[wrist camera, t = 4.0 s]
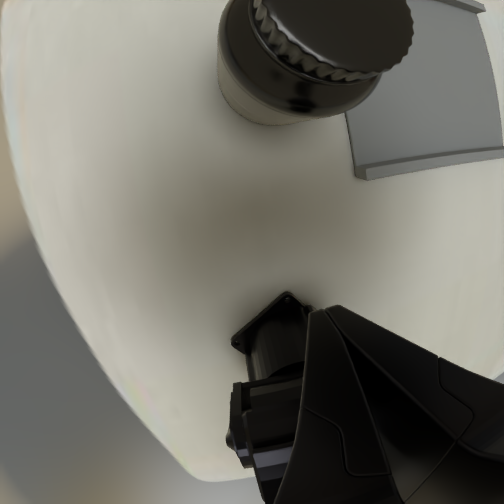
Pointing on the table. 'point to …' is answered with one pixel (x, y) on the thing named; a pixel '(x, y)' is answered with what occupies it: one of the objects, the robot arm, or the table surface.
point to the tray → (431, 98)
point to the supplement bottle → (307, 55)
